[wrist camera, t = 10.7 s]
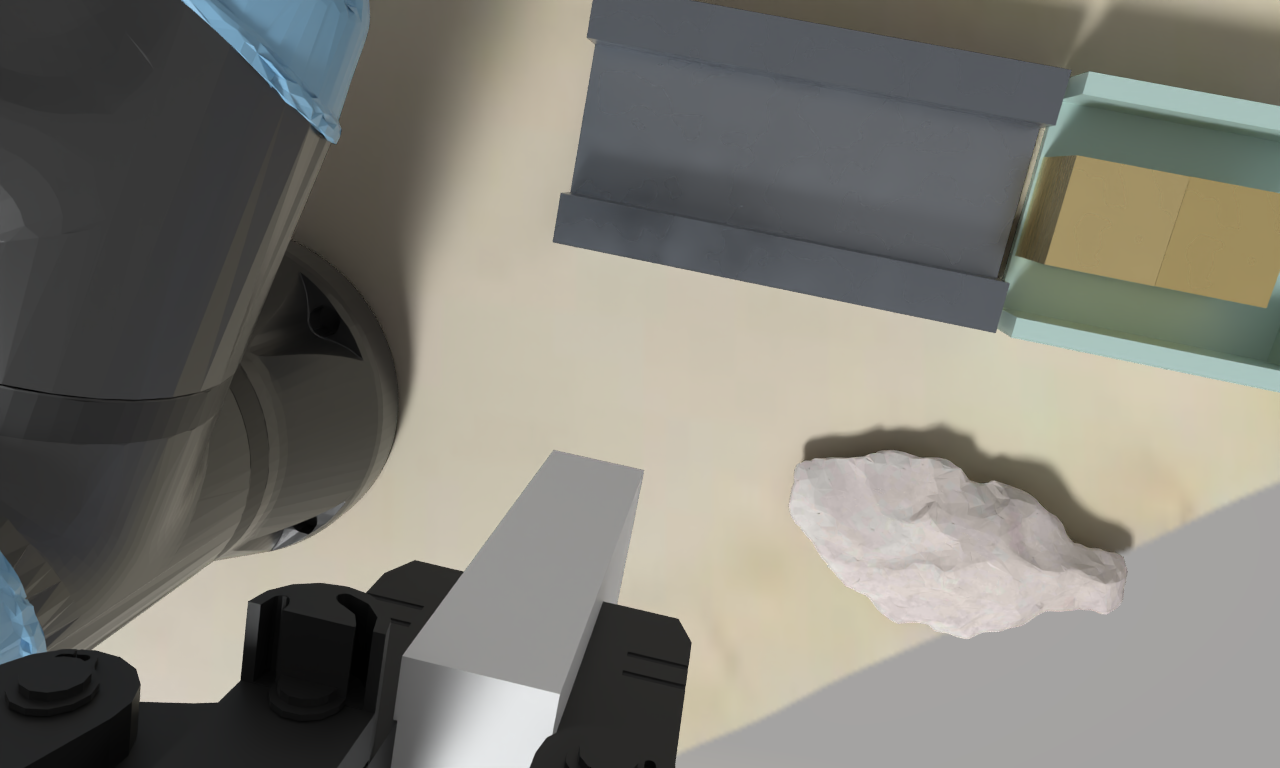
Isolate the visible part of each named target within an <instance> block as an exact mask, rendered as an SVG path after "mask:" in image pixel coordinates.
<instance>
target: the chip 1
mask: <svg viewBox="0 0 1280 768" xmlns="http://www.w3.org/2000/svg"><path fill="white" fill-rule="evenodd" d="M1189 179H1190V177H1189V176H1184V175H1179V174H1174V173H1168V172H1163V171H1158V170H1153V169H1147V168H1142V167H1137V166H1131V165H1126V164H1121V163H1116V162H1110V161H1105V160H1100V159H1095V158H1089V157H1084V156H1079V155H1071V156H1056V157H1043V160H1042V164H1041V167H1040V170H1039V174H1038V177H1037V181H1036V184H1035V188H1034V191H1033V195H1032V198H1031V202H1030V205H1029V209H1028V212H1027V215H1026V219H1025V222H1024V226H1023V229H1022V233H1021V236H1020V240H1019V243H1018V247H1017V250H1016V254H1015V256H1018V257H1022V258H1025V259H1028V260H1031V261H1035V262H1038V263H1041V264H1045V265H1050V266H1055V267H1060V268H1065V269H1070V270H1075V271H1080V272H1085V273H1090V274H1095V275H1100V276H1105V277H1110V278H1115V279H1120V280H1125V281H1130V282H1135V283H1140V284H1145V285H1150V286H1155V283H1156V280H1157V277H1158V273H1159V270H1160V267H1161V264H1162V261H1163V258H1164V255H1165V252H1166V249H1167V246H1168V243H1169V240H1170V237H1171V234H1172V231H1173V228H1174V225H1175V222H1176V219H1177V216H1178V212H1179V209H1180V206H1181V203H1182V200H1183V197H1184V194H1185V191H1186V188H1187V185H1188V182H1189Z"/></svg>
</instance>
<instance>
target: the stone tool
mask: <svg viewBox="0 0 1280 768" xmlns="http://www.w3.org/2000/svg"><path fill="white" fill-rule="evenodd" d="M933 477H934V478H933ZM875 490H876V491H875ZM955 490H956V491H955ZM878 491H879V492H878ZM881 492H882V493H881ZM934 492H935V493H934ZM960 492H961V493H960ZM936 493H937V494H936ZM878 504H879V505H878ZM855 506H856V507H855ZM789 510H790V515H791V517H792V518H793V520H794V522H795V523H796V524H797V525H798V526H800V528H801V530H802V531H803V532H804V534H805V535H806V536H807V537H808V538H809V539H810V540H811V541H812V543H813V545H814V547H815V548H816V550H817V552H818V553H819V555H820V557H821V558H822V559H823V560H824V561H825V562H826V563H827V564H828V565H827V566H828V567H829V568H830V569H831V570H832V571H833V572H834V573H835V575H836V576H837V577H838V578H839V579H840V580H841V581H842V582H843V583H844V585H845V586H847V587H849V588H851V589H854V590H855V591H857V592H859V593H861V594H864V595H865V596H867V597H868V598H869V599H870V600H871V601H872V603H873V604H874V605H875V607H876V608H877V609H878V610H879V611H880V612H881V613H882V614H883V615H884V616H886V617H887V618H888V619H890V620H891V621H893V622H895V623H898V624H900V623H923V624H928V625H929V626H930V627H931V628H932V629H933V630H934V631H935V632H943V633H948V634H950V635H952V636H955V637H959V638H964V639H969V638H972V637H974V636H976V635H978V634H980V633H982V632H1001V631H1003V630H1005V629H1009V628H1013V627H1018V626H1023V625H1025V624H1026V623H1027V622H1029V621H1030V620H1032V619H1033V618H1035V617H1036V616H1037V615H1039V614H1041V613H1043V612H1046V611H1056V612H1060V611H1072V610H1077V609H1081V610H1093V611H1095V612H1097V613H1099V614H1108V613H1110V612H1111V611H1113V610H1115V609H1116V608H1117V607H1118V606H1119V605H1120V604H1121V602H1122V600H1123V593H1124V586H1125V583H1126V577H1127V568H1126V565H1125V561H1124V557H1122V556H1121V555H1119V554H1117V553H1113V552H1107V551H1104V550H1102V549H1099V548H1089V547H1085V546H1084V545H1082V544H1078V543H1073V542H1072V540H1071V539H1070V538H1069V537H1068V536H1067V534H1066V531H1065V528H1064V526H1063V524H1062V522H1061V521H1060V520H1059V519H1058V518H1057V516H1055V515H1053V514H1051V513H1050V512H1048V511H1047V510H1046V509H1045V508H1044V507H1043V506H1042V505H1041V504H1040V503H1039V502H1038V501H1037V500H1036V499H1035V498H1034V497H1033V496H1031V495H1030V494H1028V493H1027V492H1025V491H1023V490H1020V489H1018V488H1015V487H1012V486H1010V485H1007V484H1004V483H1001V482H998V481H995V480H993V481H990V482H988V483H977V482H974V481H970V480H969V479H968V478H967V476H966V475H965V473H964V472H963V471H962V469H961V468H959V467H957V466H956V465H954V464H953V463H952V462H951V461H949V460H947V459H943V458H939V457H918V456H915V455H911V454H908V453H906V452H902V451H897V450H882V451H877V452H876V453H872V454H868V455H866V456H864V457H852V458H840V457H829V458H814V459H812V460H809V461H803V462H801V463H799V464H797V466H796V467H795V469H794V483H793V486H792V489H791V495H790V501H789ZM931 521H932V522H931ZM953 523H954V524H953ZM930 524H931V525H930ZM870 528H871V529H870ZM872 529H873V530H872ZM960 532H961V533H960ZM963 533H964V534H963ZM945 542H946V543H945ZM952 545H953V547H952ZM925 548H926V549H925ZM935 550H936V551H935Z"/></svg>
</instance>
